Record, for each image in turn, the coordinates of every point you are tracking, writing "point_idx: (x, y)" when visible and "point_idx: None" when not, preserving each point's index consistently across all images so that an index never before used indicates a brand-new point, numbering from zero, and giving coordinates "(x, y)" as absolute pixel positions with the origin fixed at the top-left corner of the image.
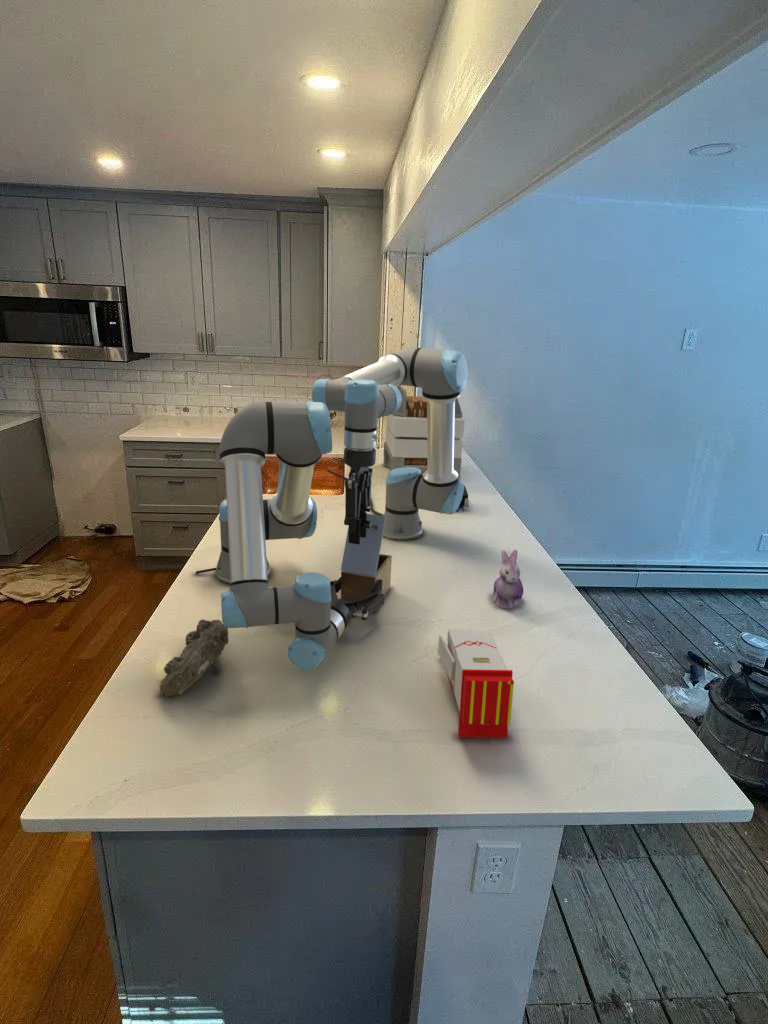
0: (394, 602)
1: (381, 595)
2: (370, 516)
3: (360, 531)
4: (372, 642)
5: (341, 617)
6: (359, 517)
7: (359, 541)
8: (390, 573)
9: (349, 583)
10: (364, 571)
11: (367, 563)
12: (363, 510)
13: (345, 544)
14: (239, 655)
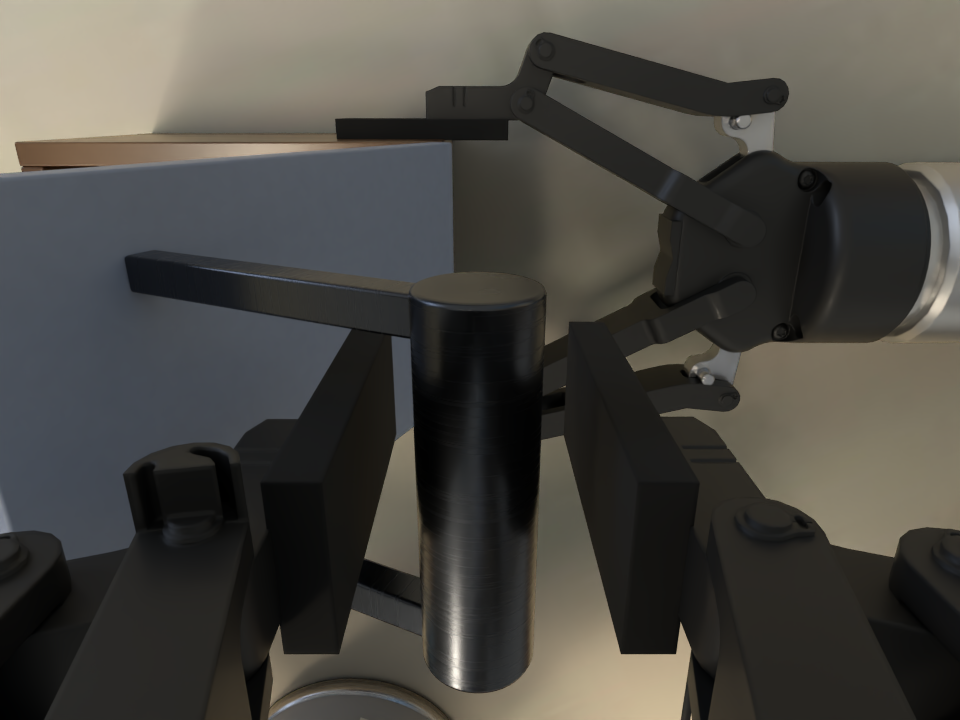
0: (296, 55)
1: (555, 50)
2: (22, 424)
3: (385, 404)
4: (733, 41)
5: (955, 186)
6: (350, 531)
7: (590, 331)
8: (108, 136)
9: None
10: (442, 233)
11: (408, 230)
12: (263, 566)
13: None
14: (930, 515)
